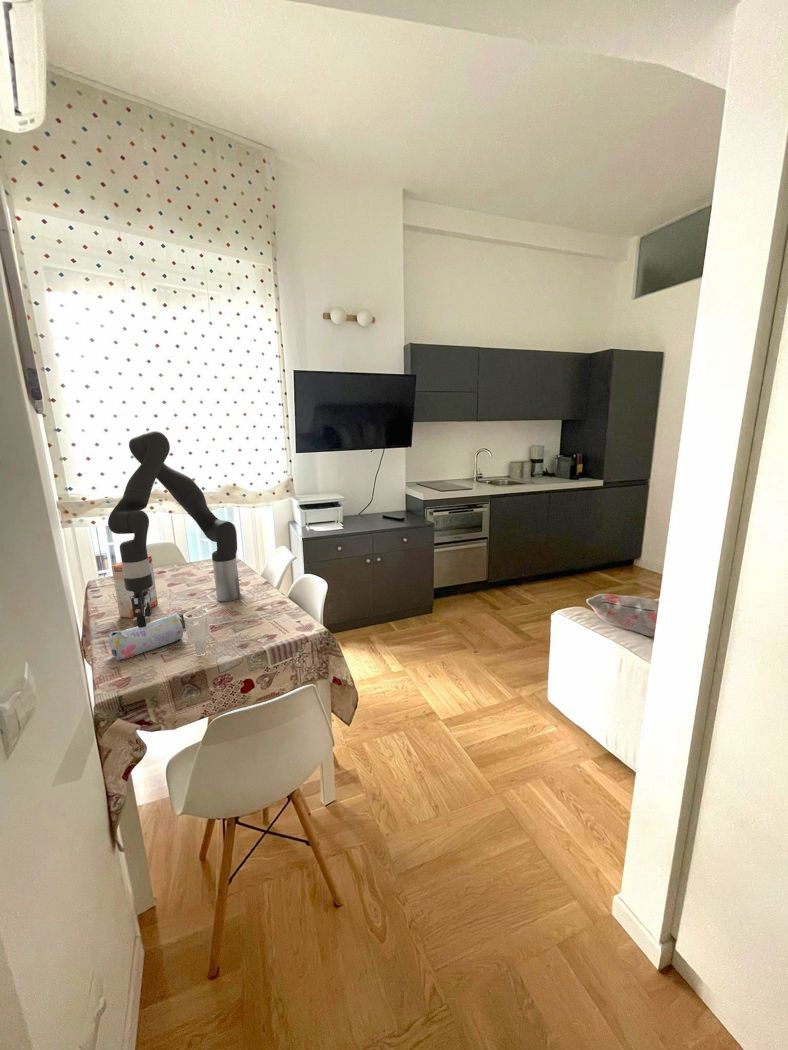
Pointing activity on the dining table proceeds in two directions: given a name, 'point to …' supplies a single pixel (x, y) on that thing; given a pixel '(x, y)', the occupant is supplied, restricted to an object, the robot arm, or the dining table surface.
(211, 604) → the dining table surface
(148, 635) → the pencil case
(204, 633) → the strainer
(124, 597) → the cracker box
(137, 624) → the three-dot block
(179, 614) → the two-dot block
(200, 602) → the dining table surface
